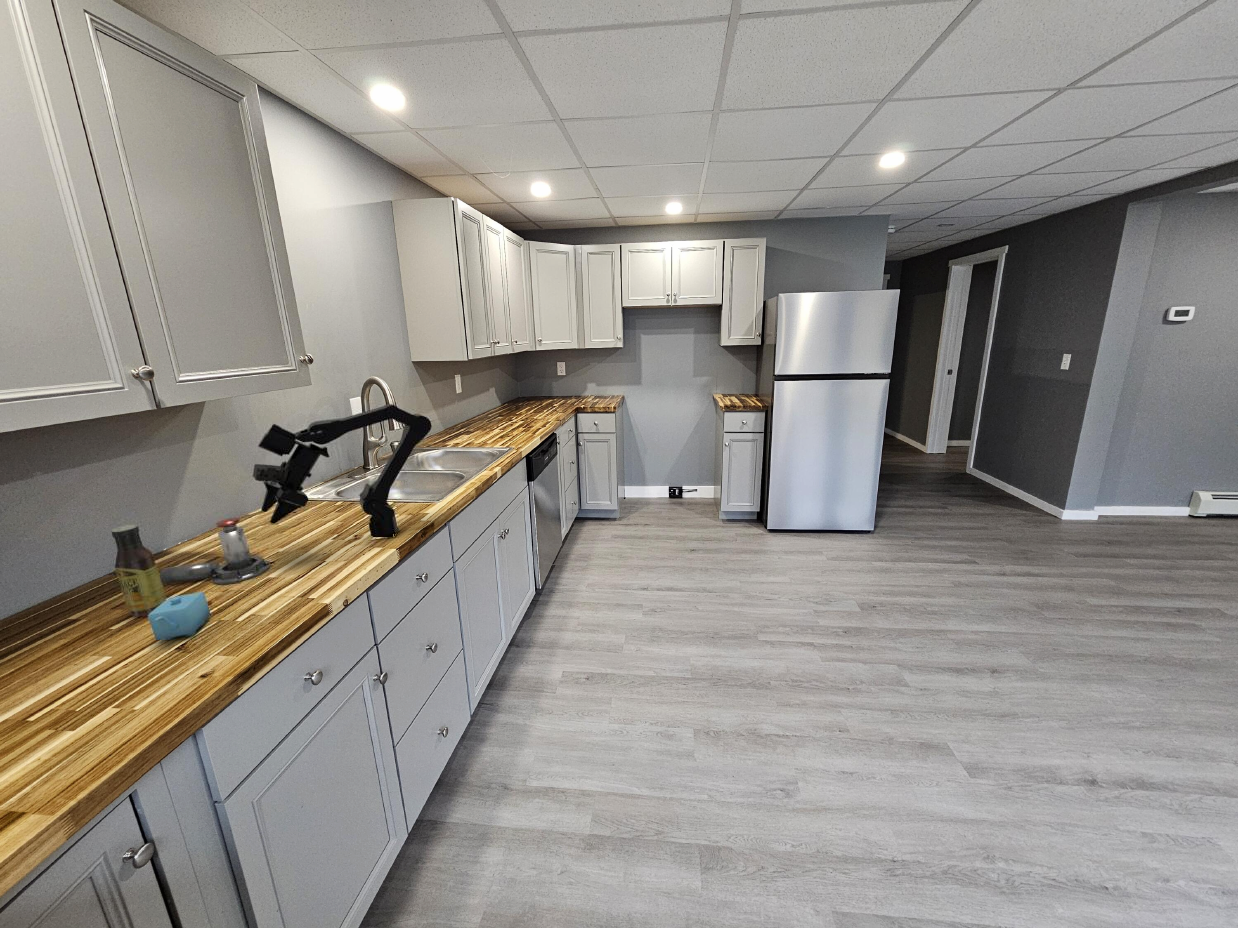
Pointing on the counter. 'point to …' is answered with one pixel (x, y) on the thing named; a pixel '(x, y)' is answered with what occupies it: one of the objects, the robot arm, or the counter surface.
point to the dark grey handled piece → (214, 572)
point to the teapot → (179, 616)
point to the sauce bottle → (137, 572)
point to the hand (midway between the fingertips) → (267, 517)
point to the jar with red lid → (234, 544)
